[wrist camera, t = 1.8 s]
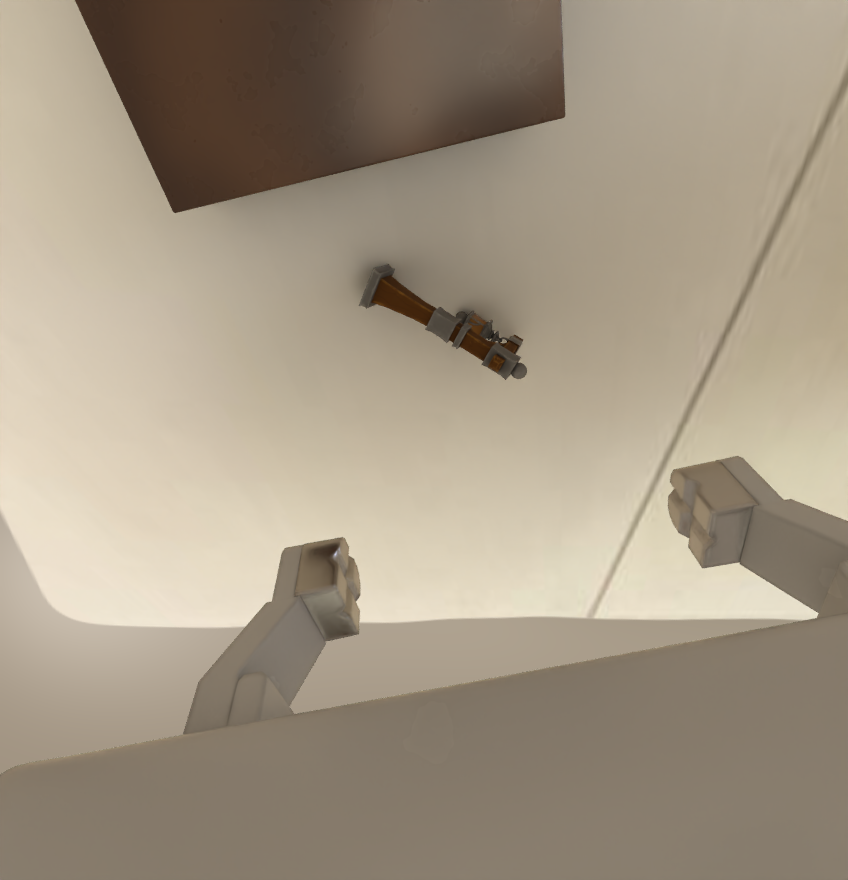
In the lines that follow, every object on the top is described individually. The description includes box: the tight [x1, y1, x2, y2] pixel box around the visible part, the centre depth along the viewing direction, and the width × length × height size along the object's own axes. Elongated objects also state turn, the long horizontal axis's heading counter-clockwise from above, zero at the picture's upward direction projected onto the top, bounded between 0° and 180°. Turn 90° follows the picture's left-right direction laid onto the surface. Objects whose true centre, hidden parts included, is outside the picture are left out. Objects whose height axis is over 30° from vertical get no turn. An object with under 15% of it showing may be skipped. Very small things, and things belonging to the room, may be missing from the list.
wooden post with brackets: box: [359, 264, 527, 380], centre depth 24 cm, size 2×8×4 cm, turn 65°
